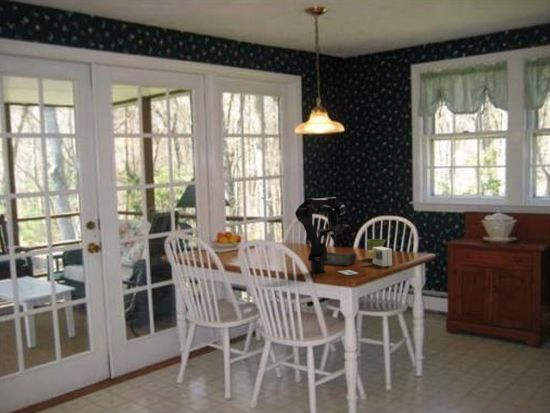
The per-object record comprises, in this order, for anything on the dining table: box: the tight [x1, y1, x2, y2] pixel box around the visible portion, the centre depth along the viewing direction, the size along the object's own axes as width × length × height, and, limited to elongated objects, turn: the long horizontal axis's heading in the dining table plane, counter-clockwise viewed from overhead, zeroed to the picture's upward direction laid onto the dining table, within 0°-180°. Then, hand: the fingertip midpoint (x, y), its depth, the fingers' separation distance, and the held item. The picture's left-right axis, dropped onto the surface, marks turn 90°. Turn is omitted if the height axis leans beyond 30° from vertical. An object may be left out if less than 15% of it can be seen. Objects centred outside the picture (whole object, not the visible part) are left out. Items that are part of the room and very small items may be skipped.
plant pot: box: [365, 238, 386, 260], centre depth 349 cm, size 12×12×11 cm
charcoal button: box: [376, 251, 382, 260], centre depth 326 cm, size 4×3×4 cm
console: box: [372, 246, 393, 267], centre depth 329 cm, size 6×11×10 cm, turn 22°
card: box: [337, 269, 359, 276], centre depth 309 cm, size 7×10×1 cm
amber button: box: [366, 250, 377, 260], centre depth 330 cm, size 4×3×4 cm
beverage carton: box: [323, 251, 357, 266], centre depth 337 cm, size 8×19×7 cm, turn 58°
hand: (335, 244), depth 327 cm, fingers closed
